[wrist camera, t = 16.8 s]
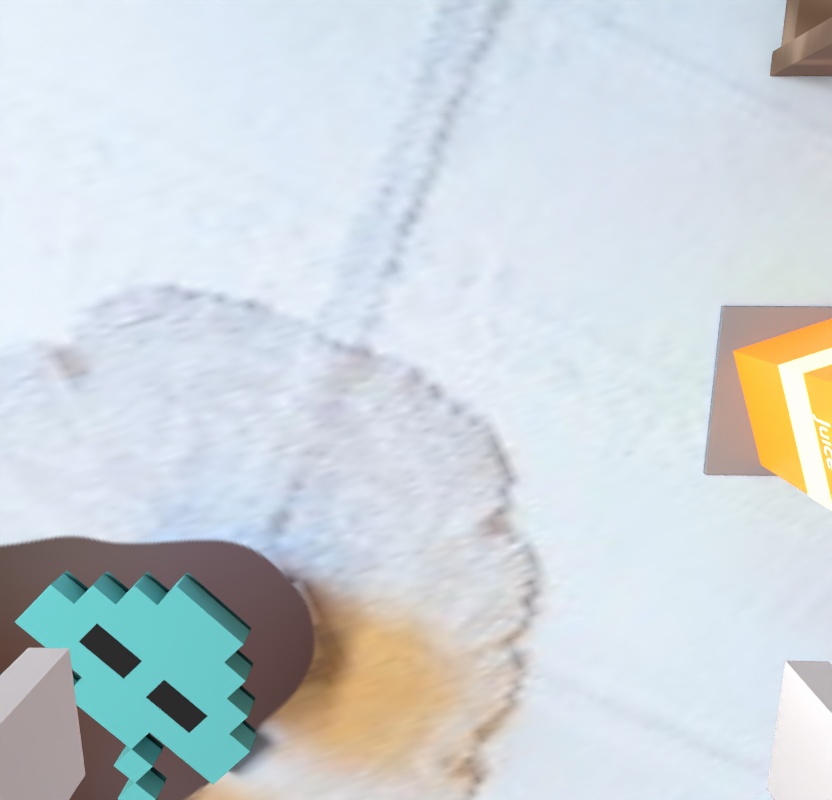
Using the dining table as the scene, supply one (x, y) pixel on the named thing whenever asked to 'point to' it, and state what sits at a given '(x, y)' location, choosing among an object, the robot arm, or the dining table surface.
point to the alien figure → (153, 670)
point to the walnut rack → (805, 40)
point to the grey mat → (728, 413)
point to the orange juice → (792, 406)
